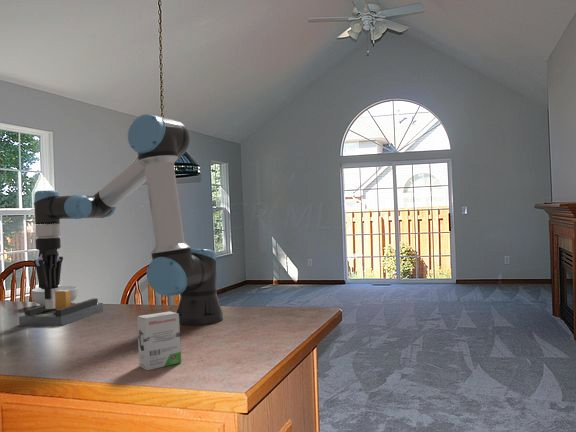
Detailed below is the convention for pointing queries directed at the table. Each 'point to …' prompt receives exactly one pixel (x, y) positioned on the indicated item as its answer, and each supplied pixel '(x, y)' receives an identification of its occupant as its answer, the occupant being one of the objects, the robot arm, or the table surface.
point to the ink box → (159, 340)
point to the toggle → (62, 299)
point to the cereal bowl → (39, 293)
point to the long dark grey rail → (76, 307)
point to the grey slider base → (51, 319)
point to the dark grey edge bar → (35, 310)
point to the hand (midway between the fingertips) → (50, 308)
